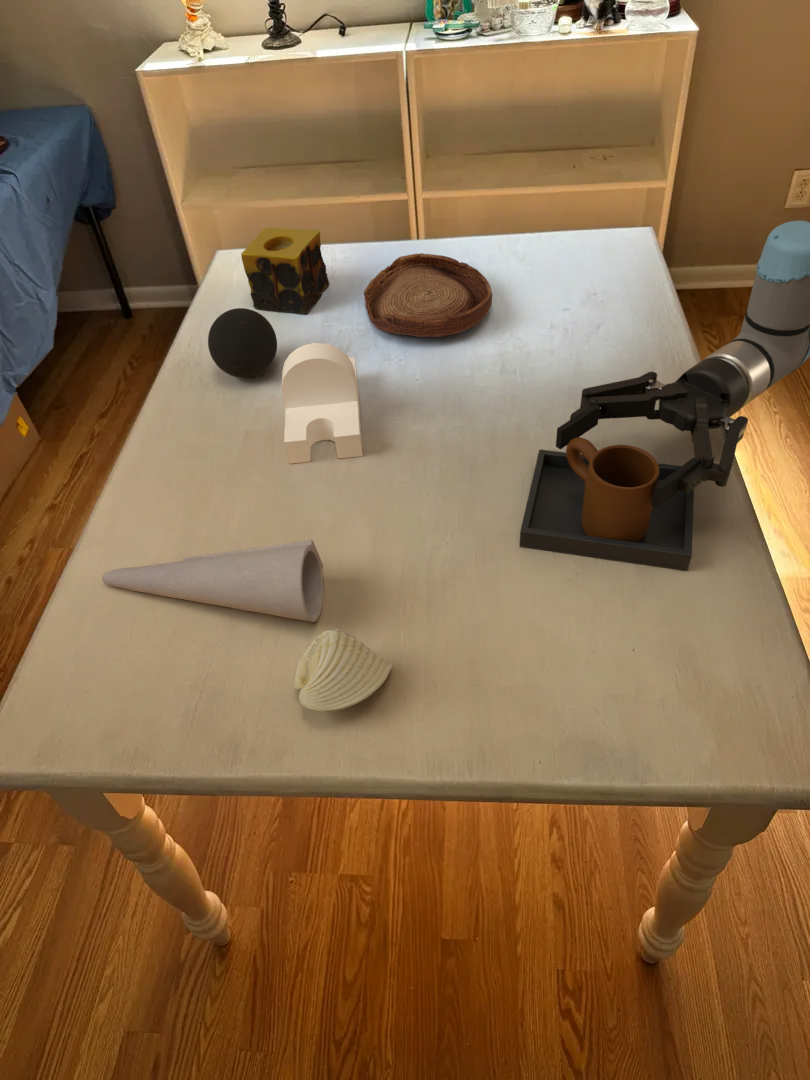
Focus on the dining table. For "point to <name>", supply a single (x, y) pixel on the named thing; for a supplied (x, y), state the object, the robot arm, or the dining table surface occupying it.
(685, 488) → the robot arm
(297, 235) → the candle
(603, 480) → the mug
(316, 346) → the block with arch cutout
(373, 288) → the basket
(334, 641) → the seashell
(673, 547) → the tray
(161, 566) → the planter
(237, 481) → the dining table surface
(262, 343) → the speaker
